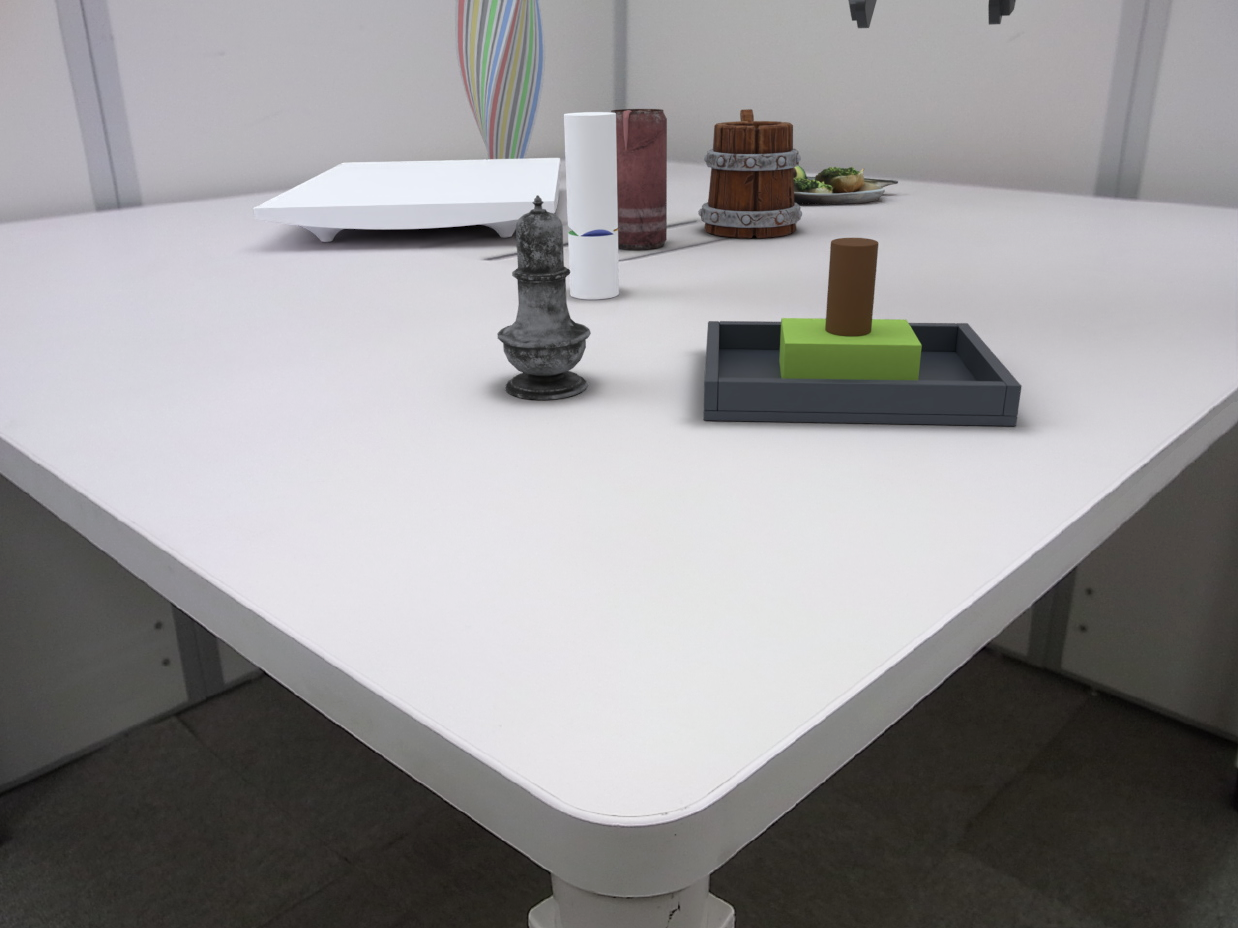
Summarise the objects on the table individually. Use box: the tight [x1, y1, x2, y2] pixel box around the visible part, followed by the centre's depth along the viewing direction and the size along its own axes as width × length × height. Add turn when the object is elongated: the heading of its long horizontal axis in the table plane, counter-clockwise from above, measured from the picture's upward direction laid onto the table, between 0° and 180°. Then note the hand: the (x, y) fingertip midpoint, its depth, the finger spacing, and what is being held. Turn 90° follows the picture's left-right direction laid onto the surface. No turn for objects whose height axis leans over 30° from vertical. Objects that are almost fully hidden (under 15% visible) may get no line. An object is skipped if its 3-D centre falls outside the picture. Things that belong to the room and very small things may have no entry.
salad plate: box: [793, 164, 899, 206], centre depth 141 cm, size 19×18×5 cm
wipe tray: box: [703, 320, 1022, 427], centre depth 64 cm, size 18×14×2 cm
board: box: [252, 157, 562, 243], centre depth 130 cm, size 45×32×5 cm
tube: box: [563, 111, 620, 300], centre depth 86 cm, size 4×4×15 cm
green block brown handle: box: [779, 237, 922, 380], centre depth 62 cm, size 8×6×8 cm
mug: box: [697, 108, 803, 239], centre depth 116 cm, size 12×14×15 cm
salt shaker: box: [497, 195, 592, 401], centre depth 63 cm, size 6×6×12 cm
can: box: [610, 108, 668, 251], centre depth 107 cm, size 6×6×14 cm
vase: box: [454, 0, 546, 159], centre depth 160 cm, size 14×14×30 cm
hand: (926, 17), depth 66 cm, fingers open, 8 cm apart
